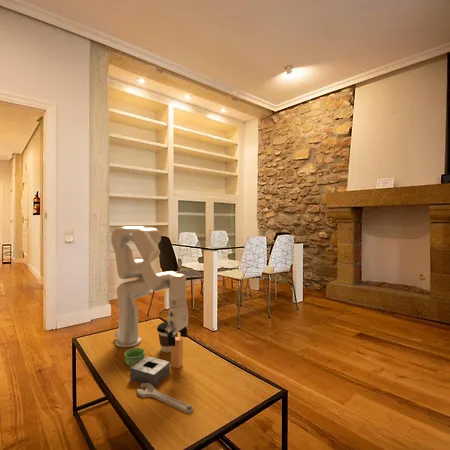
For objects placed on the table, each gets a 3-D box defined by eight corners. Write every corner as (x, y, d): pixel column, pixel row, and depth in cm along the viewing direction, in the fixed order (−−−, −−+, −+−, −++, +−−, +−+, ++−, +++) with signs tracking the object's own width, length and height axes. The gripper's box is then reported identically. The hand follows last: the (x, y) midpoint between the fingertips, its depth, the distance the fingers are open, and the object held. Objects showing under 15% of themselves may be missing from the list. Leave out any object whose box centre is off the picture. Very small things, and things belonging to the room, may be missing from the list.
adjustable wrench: (194, 411, 98) (195, 406, 98) (181, 422, 93) (181, 417, 93) (146, 385, 112) (146, 380, 112) (132, 393, 107) (132, 388, 107)
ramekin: (136, 355, 136) (136, 345, 135) (149, 360, 131) (149, 351, 131) (119, 363, 128) (119, 353, 128) (133, 369, 123) (133, 359, 123)
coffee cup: (171, 342, 149) (171, 319, 149) (183, 349, 141) (184, 325, 141) (152, 349, 141) (152, 325, 141) (164, 357, 134) (165, 331, 133)
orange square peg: (178, 368, 124) (179, 340, 124) (171, 366, 126) (171, 339, 126) (182, 364, 127) (182, 338, 127) (174, 362, 129) (175, 336, 128)
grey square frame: (130, 380, 115) (130, 367, 115) (147, 367, 125) (147, 356, 124) (154, 387, 110) (154, 374, 110) (169, 373, 120) (169, 361, 120)
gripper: (174, 309, 116) (174, 350, 116) (194, 298, 132) (195, 334, 132) (158, 306, 119) (159, 347, 119) (180, 296, 135) (181, 332, 135)
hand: (178, 340), depth 126 cm, fingers open, 9 cm apart
